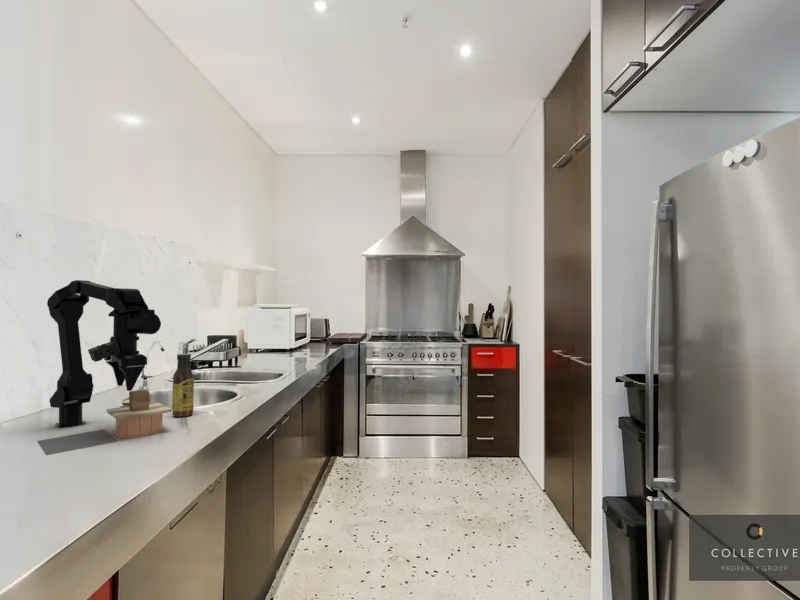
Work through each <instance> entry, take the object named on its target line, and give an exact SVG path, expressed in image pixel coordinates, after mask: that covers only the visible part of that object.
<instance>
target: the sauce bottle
mask: <svg viewBox="0 0 800 600" xmlns="http://www.w3.org/2000/svg"><path fill="white" fill-rule="evenodd" d="M176 355H177V356H176V360H177V368H176V370H175V372H174V373H173V377H172V378H173V379H172V399H171V400H172V401H171V402H172V405H171V406H172V408H171V409H172V416H173V417H177V418H181V417H188V416H191V415H193V413H194V409H195V408H194V404H195V403H194V402H195V400H194V398H195V397H194V396H195V377H194V374H193V372H192V369H191V357H192V355H191V353H178V354H176Z"/></svg>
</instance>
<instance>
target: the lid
mask: <svg viewBox="0 0 800 600" xmlns="http://www.w3.org/2000/svg"><path fill="white" fill-rule="evenodd" d="M128 393H129V394H128V396H129V397H128V399H129V406H126V407H121V406H120V407H113V408H108V409H106V413H107V414H108V415H110V416H111V417H113V418H115V420H116V419H117V420H119V421H120V420H126V419H132V418H138V417H144V416H150V415H156V414H162V415H163V414H168V413H173V411H172V408H171V407H170V406H169V407H168V406H167V405H164V404H162V403H160V402H158V401H156V402H155V401H154V402H150V391H149V390H147V389H137V390H131V391H128Z"/></svg>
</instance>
